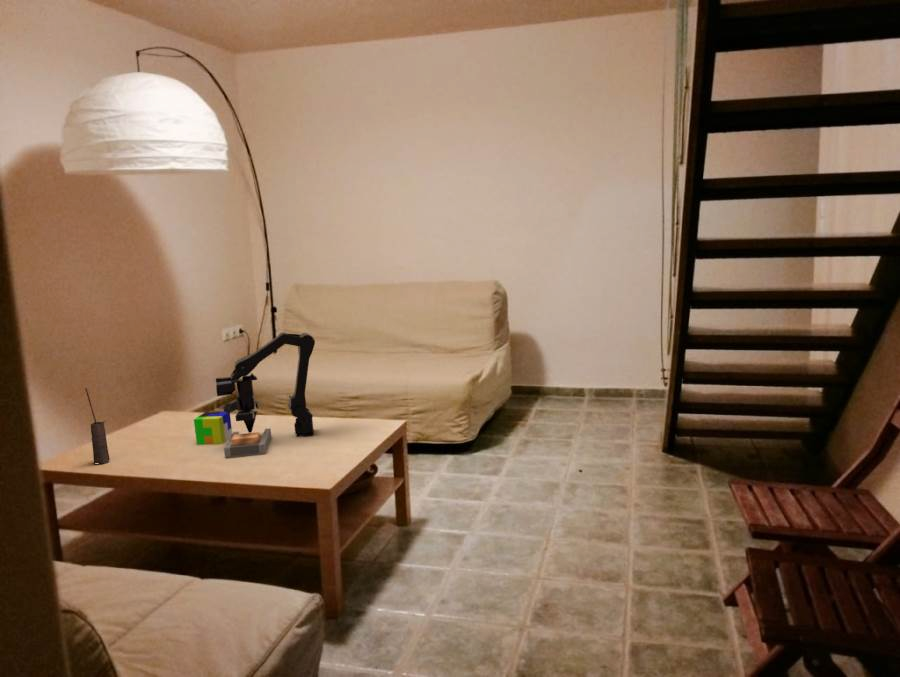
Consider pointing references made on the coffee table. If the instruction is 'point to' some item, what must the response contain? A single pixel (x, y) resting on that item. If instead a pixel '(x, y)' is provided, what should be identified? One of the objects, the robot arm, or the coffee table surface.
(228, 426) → the puzzle toy
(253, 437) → the orange block
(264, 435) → the chute
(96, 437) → the butter churn
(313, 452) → the coffee table surface
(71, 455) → the coffee table surface
